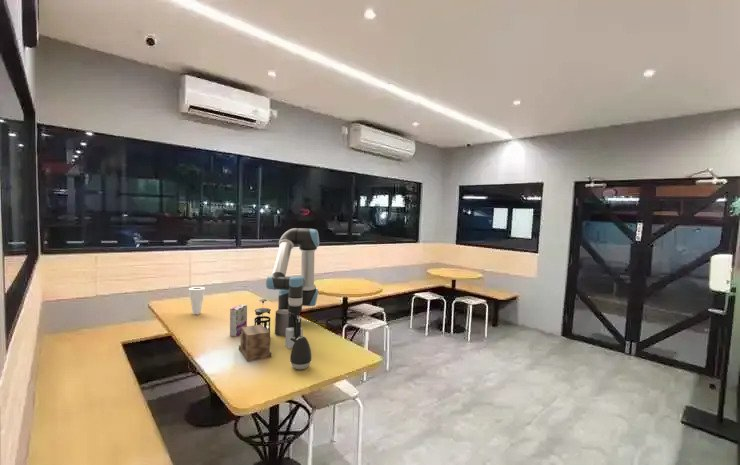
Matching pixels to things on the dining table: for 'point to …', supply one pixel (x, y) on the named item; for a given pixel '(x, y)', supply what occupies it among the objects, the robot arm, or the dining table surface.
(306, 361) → the pump dispenser
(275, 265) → the robot arm
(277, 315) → the pillar candle
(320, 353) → the dining table surface
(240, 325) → the candy bar box
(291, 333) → the white carton
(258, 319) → the french press
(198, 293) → the cup
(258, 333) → the wooden slotted holder
